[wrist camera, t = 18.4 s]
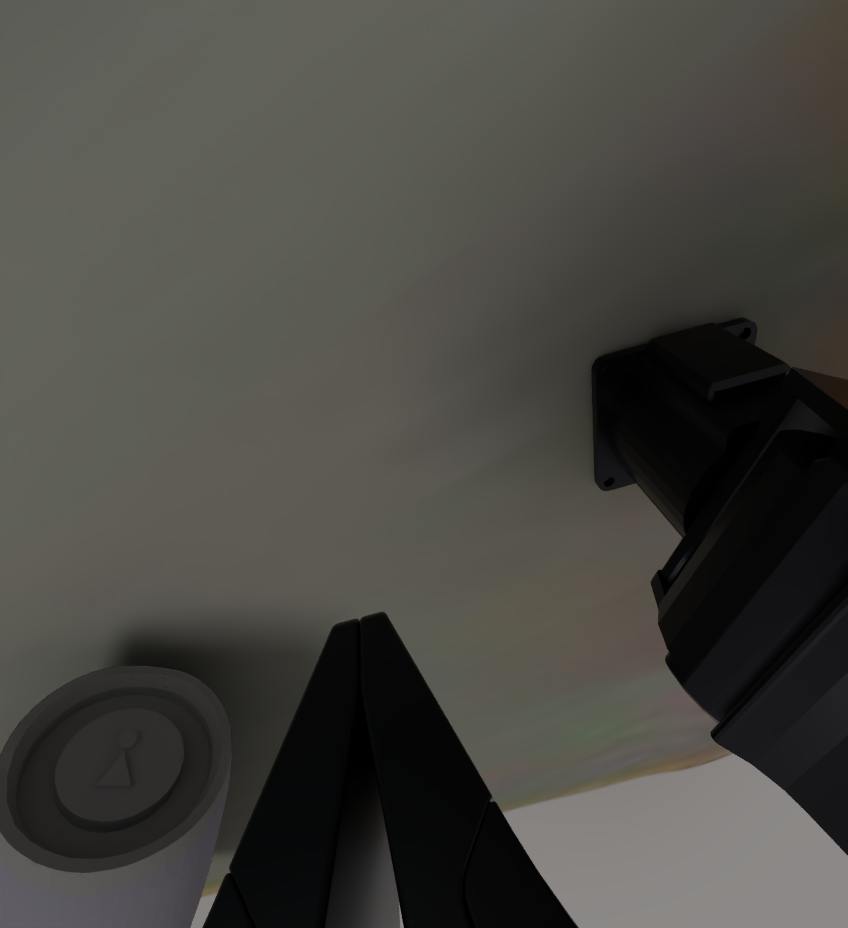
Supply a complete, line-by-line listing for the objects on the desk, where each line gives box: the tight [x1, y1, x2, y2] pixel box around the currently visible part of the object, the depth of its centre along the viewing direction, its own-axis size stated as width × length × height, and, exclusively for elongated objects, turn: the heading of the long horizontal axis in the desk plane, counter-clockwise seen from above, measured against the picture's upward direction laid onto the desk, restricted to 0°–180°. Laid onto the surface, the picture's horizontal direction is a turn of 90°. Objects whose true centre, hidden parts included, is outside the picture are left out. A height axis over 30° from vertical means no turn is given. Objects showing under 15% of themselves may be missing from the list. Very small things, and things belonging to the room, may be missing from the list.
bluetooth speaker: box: [0, 666, 232, 928], centre depth 27 cm, size 23×9×10 cm, turn 160°
